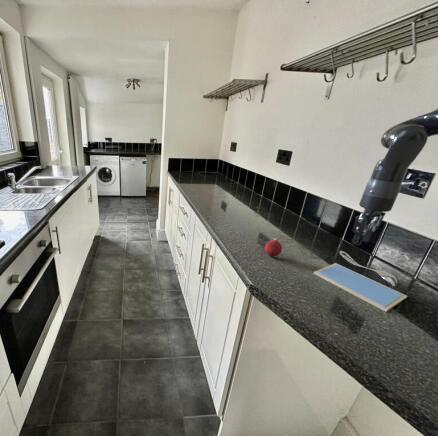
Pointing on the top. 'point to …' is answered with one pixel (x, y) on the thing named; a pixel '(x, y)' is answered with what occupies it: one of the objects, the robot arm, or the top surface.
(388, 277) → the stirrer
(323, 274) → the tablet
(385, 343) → the top surface
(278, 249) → the onion
